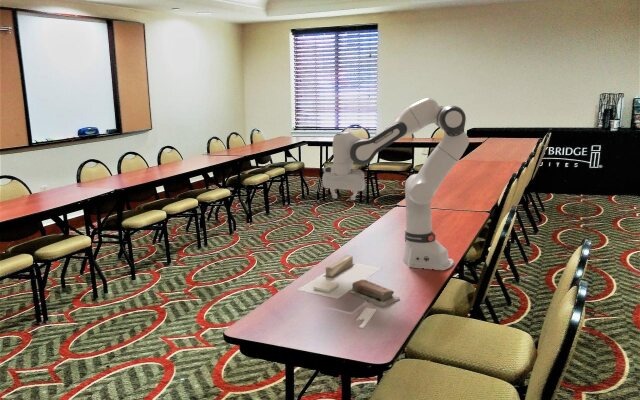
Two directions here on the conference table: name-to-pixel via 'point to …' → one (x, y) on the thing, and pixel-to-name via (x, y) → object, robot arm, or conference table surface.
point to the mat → (341, 280)
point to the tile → (326, 286)
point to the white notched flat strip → (366, 316)
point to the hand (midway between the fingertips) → (343, 198)
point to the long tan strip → (339, 265)
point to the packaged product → (373, 293)
